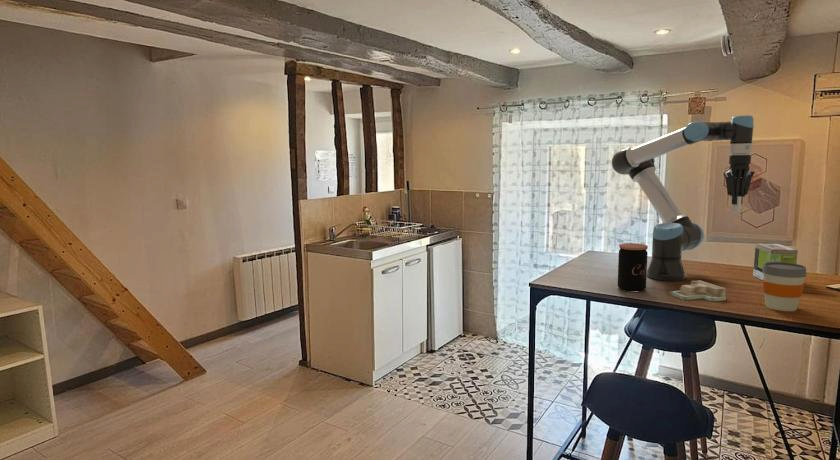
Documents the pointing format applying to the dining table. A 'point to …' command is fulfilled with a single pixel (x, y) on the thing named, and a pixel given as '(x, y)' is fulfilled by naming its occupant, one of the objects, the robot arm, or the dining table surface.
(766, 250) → the tea box
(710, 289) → the t block
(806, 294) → the dining table surface
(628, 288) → the coffee jar
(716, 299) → the t outline
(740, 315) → the dining table surface
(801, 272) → the reusable coffee cup
